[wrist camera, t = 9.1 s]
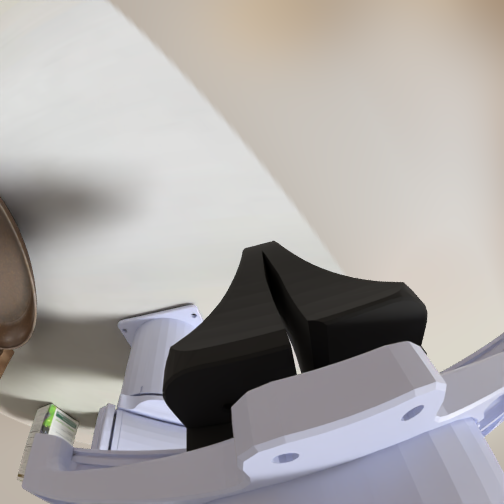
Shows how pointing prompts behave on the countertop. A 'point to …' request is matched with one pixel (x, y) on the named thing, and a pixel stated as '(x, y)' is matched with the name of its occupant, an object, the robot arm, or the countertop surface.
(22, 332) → the plant saucer
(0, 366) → the walnut shelf
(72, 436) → the syrup box
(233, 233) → the countertop surface
